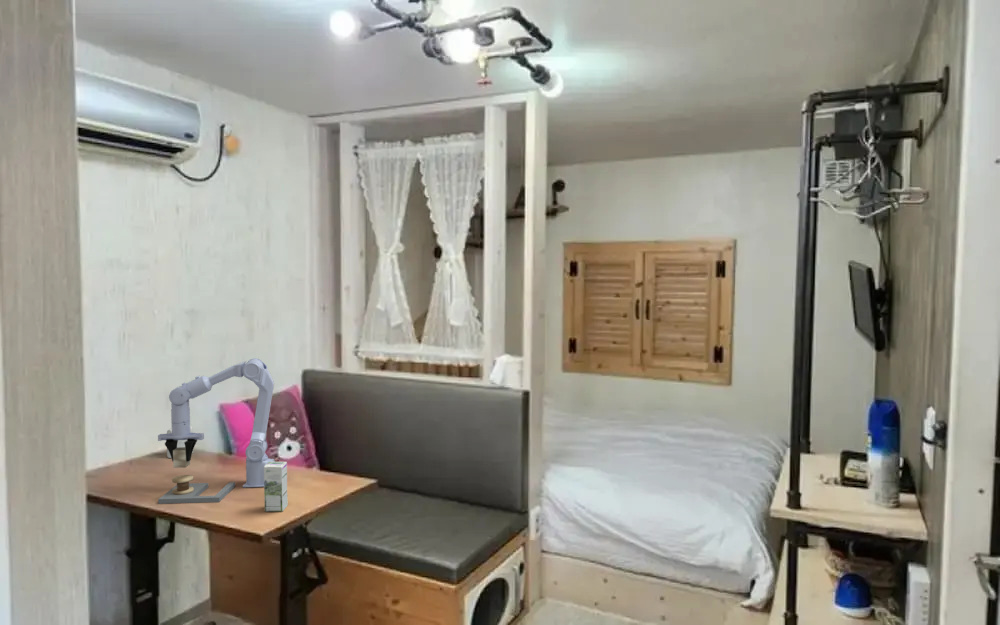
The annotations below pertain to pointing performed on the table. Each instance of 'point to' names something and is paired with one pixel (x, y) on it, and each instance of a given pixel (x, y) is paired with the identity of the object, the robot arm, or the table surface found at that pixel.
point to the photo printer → (180, 442)
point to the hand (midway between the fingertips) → (181, 460)
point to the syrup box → (275, 486)
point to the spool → (182, 485)
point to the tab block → (180, 458)
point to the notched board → (196, 494)
